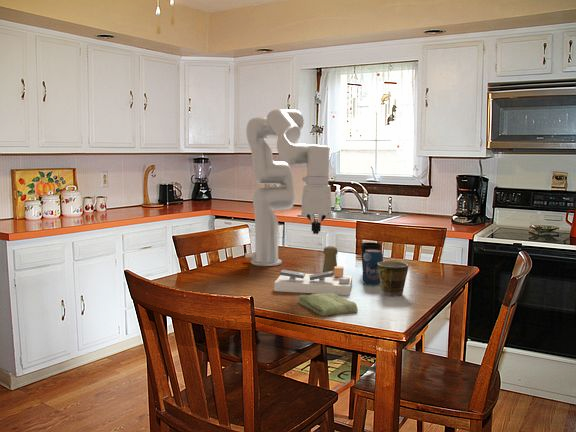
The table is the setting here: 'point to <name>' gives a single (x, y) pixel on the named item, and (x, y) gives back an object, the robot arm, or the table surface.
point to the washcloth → (327, 304)
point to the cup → (369, 246)
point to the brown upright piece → (329, 258)
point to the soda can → (371, 266)
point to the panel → (314, 285)
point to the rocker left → (292, 274)
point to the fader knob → (338, 271)
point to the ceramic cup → (392, 277)
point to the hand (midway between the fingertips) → (315, 233)
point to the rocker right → (322, 275)
